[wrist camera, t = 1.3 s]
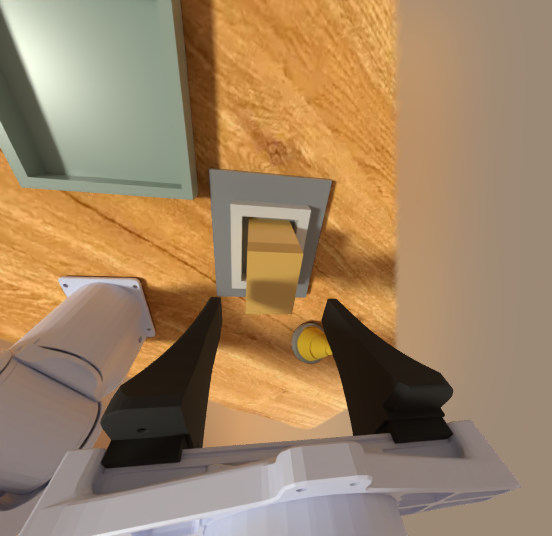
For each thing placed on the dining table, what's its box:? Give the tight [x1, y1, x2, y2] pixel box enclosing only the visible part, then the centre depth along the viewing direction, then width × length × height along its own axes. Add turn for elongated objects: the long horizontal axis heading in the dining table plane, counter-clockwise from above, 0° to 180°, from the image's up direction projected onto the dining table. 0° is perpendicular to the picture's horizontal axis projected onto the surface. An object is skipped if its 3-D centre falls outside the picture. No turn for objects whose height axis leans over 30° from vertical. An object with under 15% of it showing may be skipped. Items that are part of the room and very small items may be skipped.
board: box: [209, 168, 332, 298], centre depth 22 cm, size 14×11×2 cm
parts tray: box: [0, 0, 199, 200], centre depth 14 cm, size 13×13×2 cm
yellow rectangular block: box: [245, 218, 303, 314], centre depth 19 cm, size 6×4×7 cm, turn 174°
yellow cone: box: [291, 323, 332, 364], centre depth 28 cm, size 5×5×10 cm
